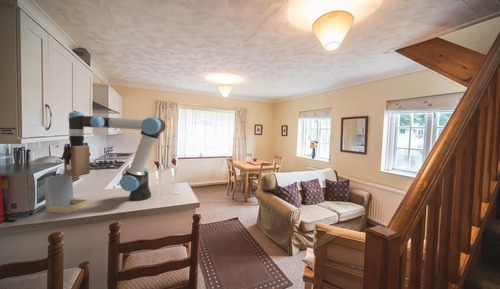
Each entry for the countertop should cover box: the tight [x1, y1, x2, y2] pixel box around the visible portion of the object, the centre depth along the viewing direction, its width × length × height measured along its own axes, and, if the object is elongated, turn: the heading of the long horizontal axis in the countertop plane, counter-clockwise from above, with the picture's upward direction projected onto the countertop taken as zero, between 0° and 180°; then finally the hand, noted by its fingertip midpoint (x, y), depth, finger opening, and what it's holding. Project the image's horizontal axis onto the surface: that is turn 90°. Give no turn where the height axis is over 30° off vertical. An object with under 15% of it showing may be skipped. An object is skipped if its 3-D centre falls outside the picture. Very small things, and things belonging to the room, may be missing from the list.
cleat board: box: [43, 173, 91, 214], centre depth 135 cm, size 16×16×22 cm
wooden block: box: [63, 145, 91, 177], centre depth 137 cm, size 10×10×20 cm
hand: (77, 167), depth 138 cm, fingers closed on wooden block, 10 cm apart
